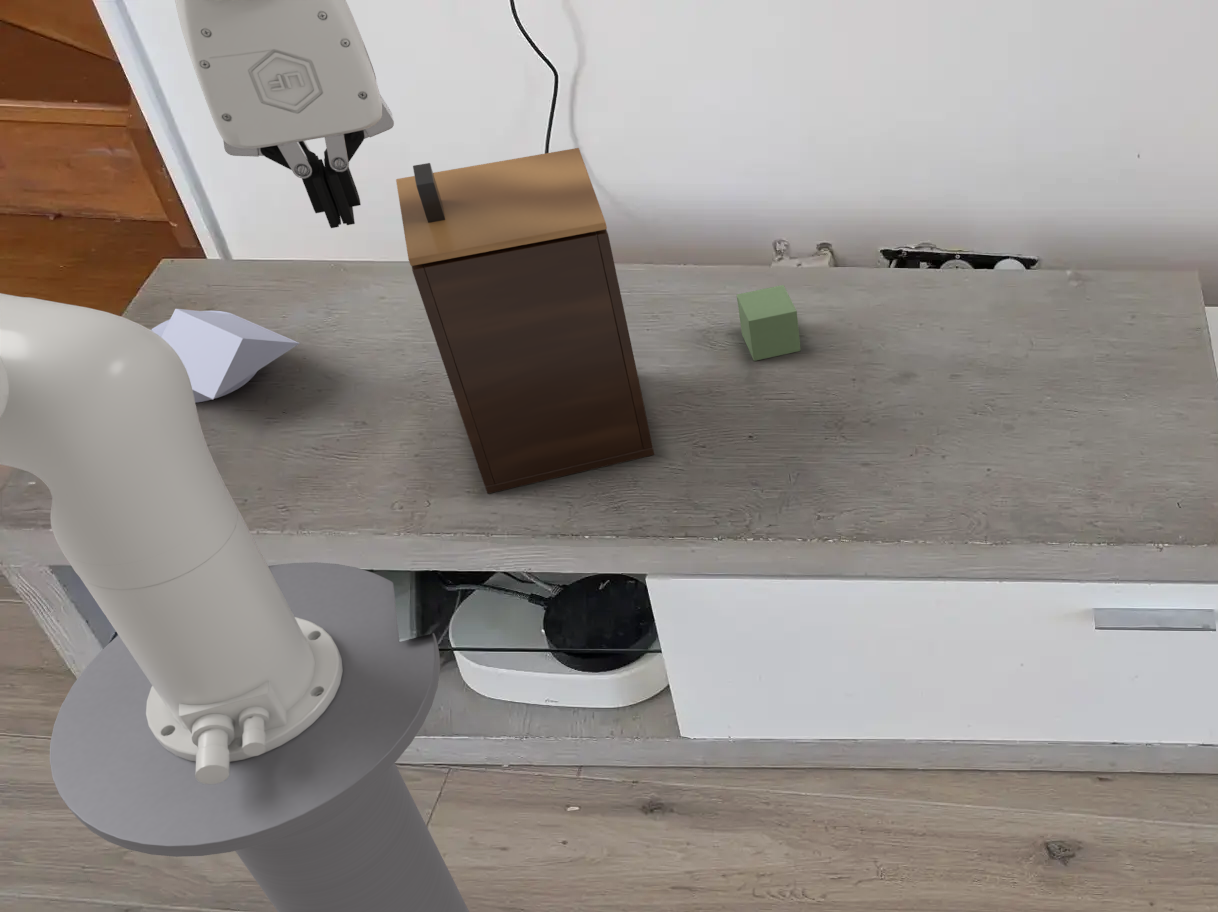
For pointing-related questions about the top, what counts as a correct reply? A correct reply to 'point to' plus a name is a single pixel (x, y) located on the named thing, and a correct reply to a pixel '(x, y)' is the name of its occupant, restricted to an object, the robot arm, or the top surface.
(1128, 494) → the top surface
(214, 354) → the white faceted chunk
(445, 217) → the lid
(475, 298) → the box
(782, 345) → the block
